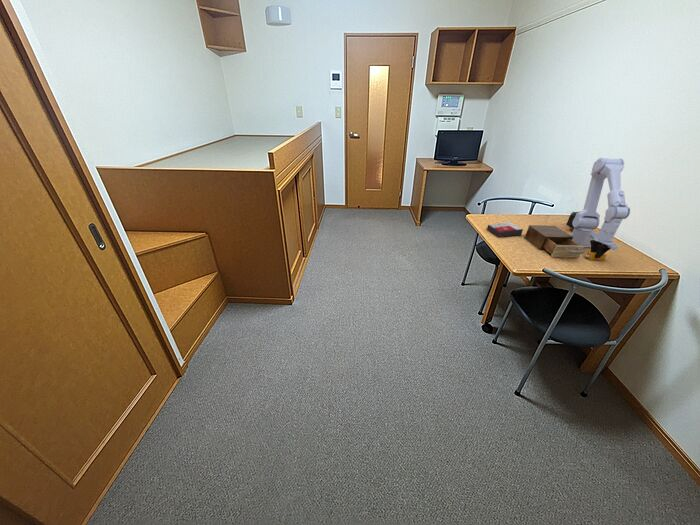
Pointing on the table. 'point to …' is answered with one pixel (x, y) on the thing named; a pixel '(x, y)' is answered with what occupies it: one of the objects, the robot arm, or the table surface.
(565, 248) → the drawer
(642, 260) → the table surface
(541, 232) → the cabinet
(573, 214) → the camera
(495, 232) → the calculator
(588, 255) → the box cutter
